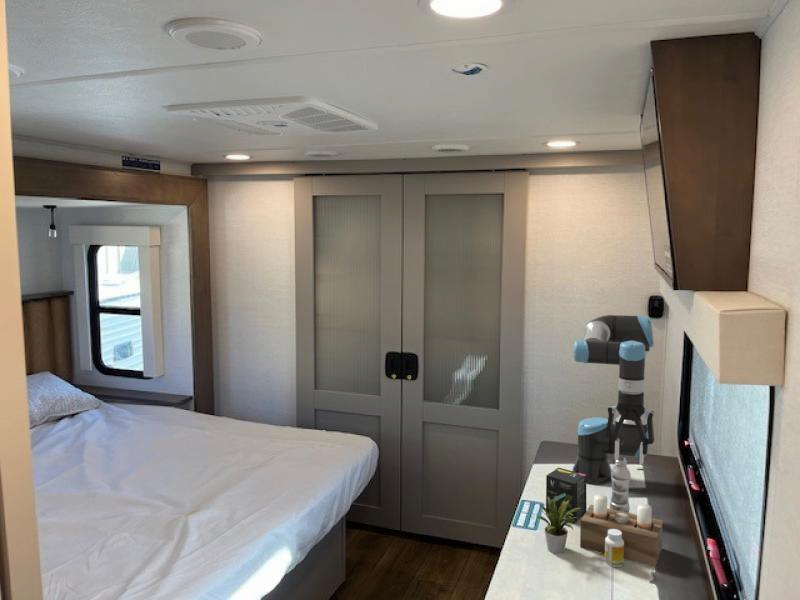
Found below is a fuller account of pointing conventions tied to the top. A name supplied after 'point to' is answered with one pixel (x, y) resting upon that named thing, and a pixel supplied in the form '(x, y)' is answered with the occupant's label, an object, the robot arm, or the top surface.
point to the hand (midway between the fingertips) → (629, 461)
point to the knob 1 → (600, 507)
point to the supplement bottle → (614, 548)
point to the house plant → (557, 526)
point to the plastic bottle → (620, 486)
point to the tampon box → (567, 491)
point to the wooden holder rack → (623, 535)
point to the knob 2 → (644, 516)
